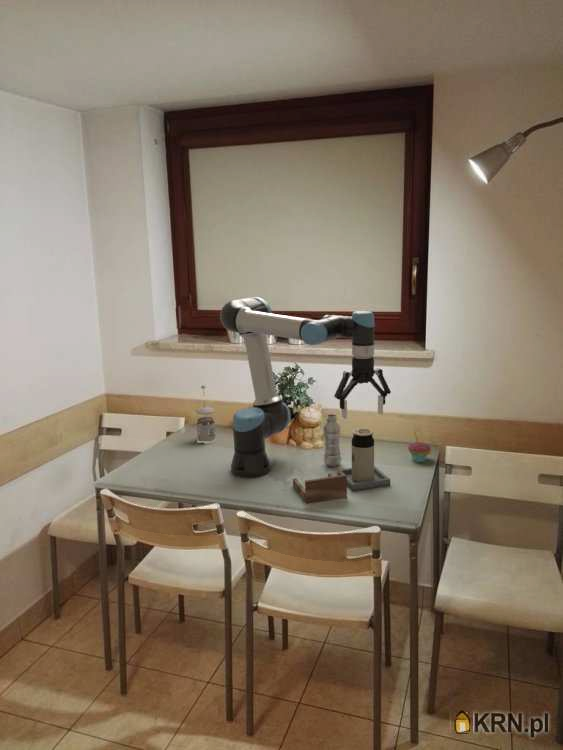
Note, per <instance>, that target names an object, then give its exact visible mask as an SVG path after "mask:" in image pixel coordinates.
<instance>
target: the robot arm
mask: <svg viewBox="0 0 563 750" xmlns="http://www.w3.org/2000/svg"><path fill="white" fill-rule="evenodd" d="M219 319H220V323H221V325H222V326H223V327H224V328H225V329H226V330H228V331H229V332H233V333H238V335H239V336H240V337H241V338H242V339H243V341H244V345H245V350H246V355H247V361H248V366H249V371H250V377H251V382H252V388H253V392H254V398H255V399H254V401H253V402H252V406H251V407H250V406H249V407H247V408H245V407H244V408H242V409H239V410H237V411H236V412H235V413H234V414H233V417H232V418H233V419H232V429H233V430H232V431H233V446H234V447H233V449H234V452H233V457H232V461H231V463H230V472H232V473H233V474H234V476H235V475H236V476H235V477H238V476H240V477H239V478H244V477H246V478H258V477H263V476H265V475H268V473H270V472H271V462H270V460H269V457H268V454H267V451H266V441H265V439H267V438H268V439H269V438H270V437H271V436H274V435H276V434H279V433H281V432H282V431H284V430H285V429H286V428H287V427H288V426H289V424H290V422H291V411H290V408H289V406H288V405H286V403H285V402H283V400H282V399H283V398H282V397H281V396H280V395H278V393H277V388H276V387H277V386H276V382H275V376H274V371H273V365H272V360H271V355H270V350H269V345H268V339H267V335H269V336H273V337H279V338H285V339H290V340H291V339H292V340H297V341H302V342H304V343H305V344H306V345H309V346H315V345H316V346H317V345H320V344H323V343H326V342H329V341H331V340H334V339H339V338H341V339H342V338H344V339H351V356H352V358H351V368H352V369H351V371H346V370H343V372H342V377H341V380H340V382H339V384H338V387H337V389H336V390H335V393H334V395H333V397H334V398H335V399H337V400H339V408H340V409H341V417H342V418H343V419H344V420H346V419H348V400H347V397H348V396H349V394H350V393H351V392H352V391H353V389H354V388H355V387H356V386H357V385H358V384H360V385H361V384H368V383H370V384H371V385H372V386H373V388H374V389H376V391H377V392H378V393H379V394H378V395H377V413H378V414H379V415H384V405H386V397H387V396H388V395H390V394H391V393H392V392H391V389H390V388H389V385H388V383H387V380H386V379H385V377H384V374H383V369H381V368H379V367H377V368H376V369H375V368H374V367H375V358H374V356H375V327H376V324H375V314H374V312H372V311H369V310H356V311H353V312H352V315H351V316H347V315H336V314H325V315H323V316H322V317H321V319H310V318H304V317H298V316H290V315H284V314H279V313H277V314H276V313H272V309H271V306H270V305H269V303H268V302H267V301H266V300H265V299H263V298H262V297H259V296H252V297H250V296H249V297H245V298H241V299H234V300H230V301H228V302H227V303H225V304H224V305H223V306H222V308H221V310H220V312H219ZM375 375H376V376H377V378H378V381H379V382H380V385H381V386H382V388H381V386H380V385H379V384H378V383H377V381H376V380H375V378H373V377H374V376H375ZM351 377H352V378H351ZM350 378H351V379H350ZM349 379H350V380H349ZM348 381H350V382H349V383H348ZM347 383H348V384H347ZM346 385H347V386H346ZM232 473H231V474H232ZM233 474H232V475H233Z"/></svg>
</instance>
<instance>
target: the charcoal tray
mask: <svg viewBox="0 0 563 750" xmlns="http://www.w3.org/2000/svg"><path fill="white" fill-rule="evenodd" d="M336 472H337V473H336V476H339V475H346V476H347V489H349V490H350V491H351V492H359V490H360V491H364V490H365V489H366V490H372V489H378V488H384V487H390V486H391V478H390V477H388V476H387V475H386V474H385V473H383V472H382V471H381V470H380V469H379V468H378V467H377V466H376V465H374V479H373V480H372V481H365V482H357V481H354V480H353V479H352V467H348V468H341V469H337V470H336Z"/></svg>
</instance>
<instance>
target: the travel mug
mask: <svg viewBox="0 0 563 750" xmlns="http://www.w3.org/2000/svg"><path fill="white" fill-rule="evenodd" d="M351 432H352V435H353V437H352V438H351V468H352V479H353V480H354V481H357V482H365V481H372V480H373V479H374V466H375V438H374V437H373V435H374V430H373V429H371V428H366V427H360V428H358V427H357V428H354V429H353V430H352V431H351Z"/></svg>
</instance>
